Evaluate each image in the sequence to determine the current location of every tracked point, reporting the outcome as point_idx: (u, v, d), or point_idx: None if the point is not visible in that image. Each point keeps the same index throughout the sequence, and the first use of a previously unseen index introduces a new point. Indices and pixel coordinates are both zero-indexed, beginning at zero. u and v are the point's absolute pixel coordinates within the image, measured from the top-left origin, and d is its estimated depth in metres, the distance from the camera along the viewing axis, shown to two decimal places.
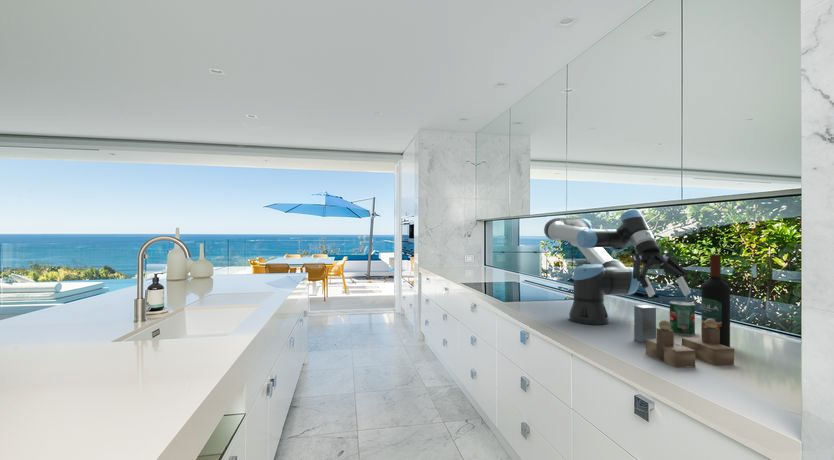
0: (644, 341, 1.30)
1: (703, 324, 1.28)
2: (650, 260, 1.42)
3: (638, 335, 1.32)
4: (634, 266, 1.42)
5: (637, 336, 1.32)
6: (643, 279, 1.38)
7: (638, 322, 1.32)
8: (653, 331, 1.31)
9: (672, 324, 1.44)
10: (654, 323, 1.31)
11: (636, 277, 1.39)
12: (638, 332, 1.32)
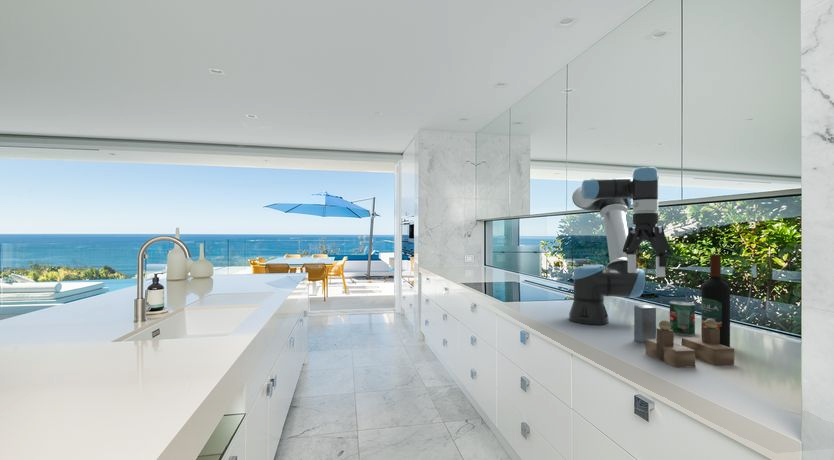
0: (644, 341, 1.30)
1: (703, 324, 1.28)
2: (635, 236, 1.35)
3: (638, 335, 1.32)
4: None
5: (637, 336, 1.32)
6: (628, 255, 1.40)
7: (638, 322, 1.32)
8: (653, 331, 1.31)
9: (672, 324, 1.44)
10: (654, 323, 1.31)
11: None
12: (638, 332, 1.32)
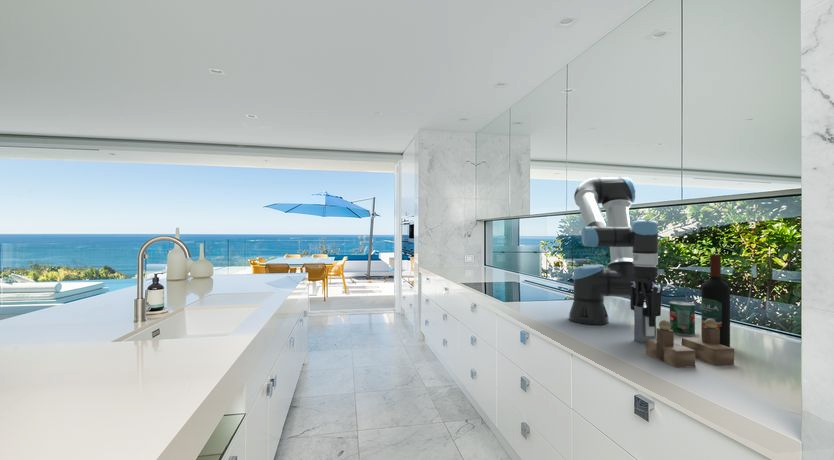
0: (644, 341, 1.30)
1: (703, 324, 1.28)
2: (637, 289, 1.34)
3: (638, 335, 1.32)
4: None
5: (637, 336, 1.32)
6: None
7: (638, 322, 1.32)
8: None
9: (672, 324, 1.44)
10: None
11: None
12: (638, 332, 1.32)
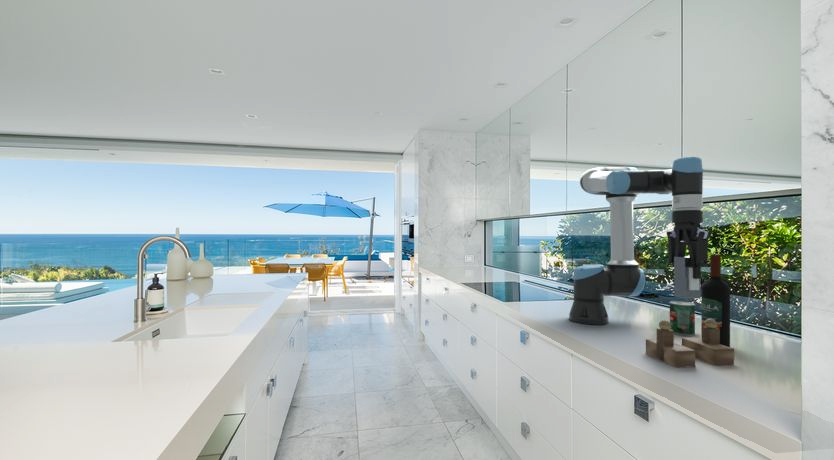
0: (687, 296, 1.12)
1: (703, 324, 1.28)
2: (677, 238, 1.16)
3: (680, 290, 1.14)
4: None
5: (678, 291, 1.15)
6: None
7: (679, 275, 1.14)
8: None
9: (672, 324, 1.44)
10: None
11: None
12: (679, 287, 1.14)
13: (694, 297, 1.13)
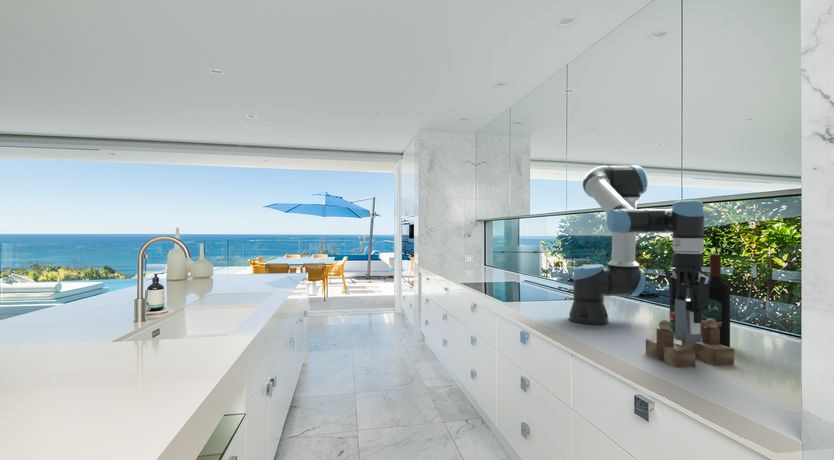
0: (688, 340, 1.12)
1: (703, 324, 1.28)
2: (678, 280, 1.16)
3: (681, 333, 1.14)
4: None
5: (679, 334, 1.15)
6: None
7: (680, 318, 1.14)
8: None
9: (672, 324, 1.44)
10: None
11: None
12: (680, 330, 1.14)
13: (695, 341, 1.13)
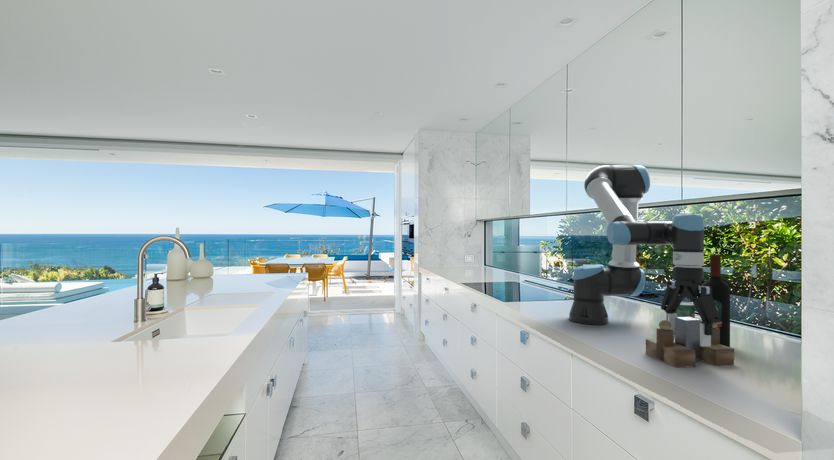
0: None
1: None
2: (676, 292, 1.17)
3: None
4: None
5: None
6: (667, 314, 1.21)
7: (680, 336, 1.14)
8: (698, 347, 1.13)
9: None
10: (699, 338, 1.13)
11: None
12: None
13: (695, 360, 1.13)
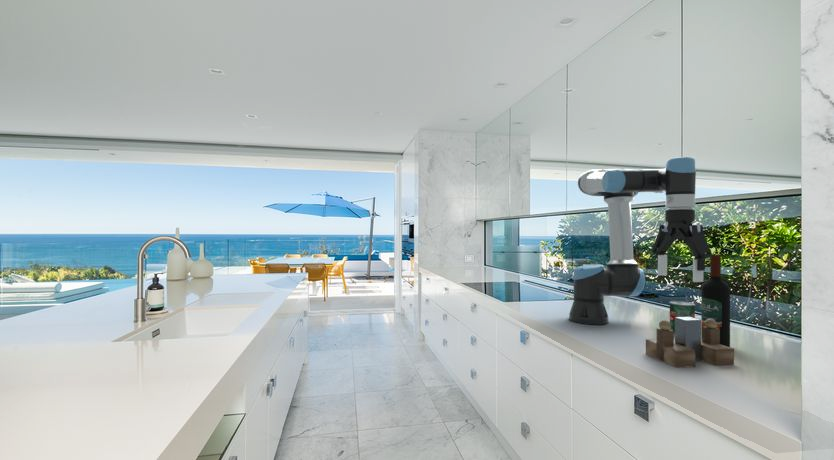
0: None
1: (703, 324, 1.28)
2: (668, 235, 1.20)
3: None
4: None
5: None
6: (658, 256, 1.26)
7: (680, 336, 1.14)
8: (698, 347, 1.13)
9: (672, 324, 1.44)
10: (699, 338, 1.13)
11: None
12: None
13: (695, 360, 1.13)
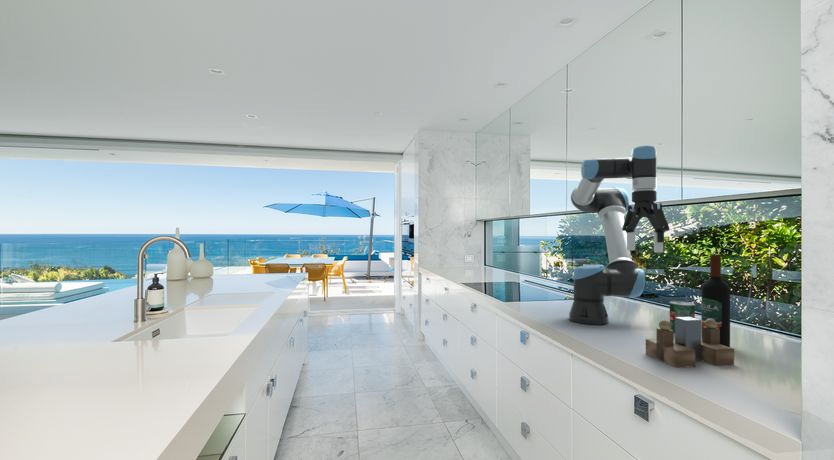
0: None
1: (703, 324, 1.28)
2: (634, 214, 1.38)
3: None
4: None
5: None
6: None
7: (680, 336, 1.14)
8: (698, 347, 1.13)
9: (672, 324, 1.44)
10: (699, 338, 1.13)
11: None
12: None
13: (695, 360, 1.13)
